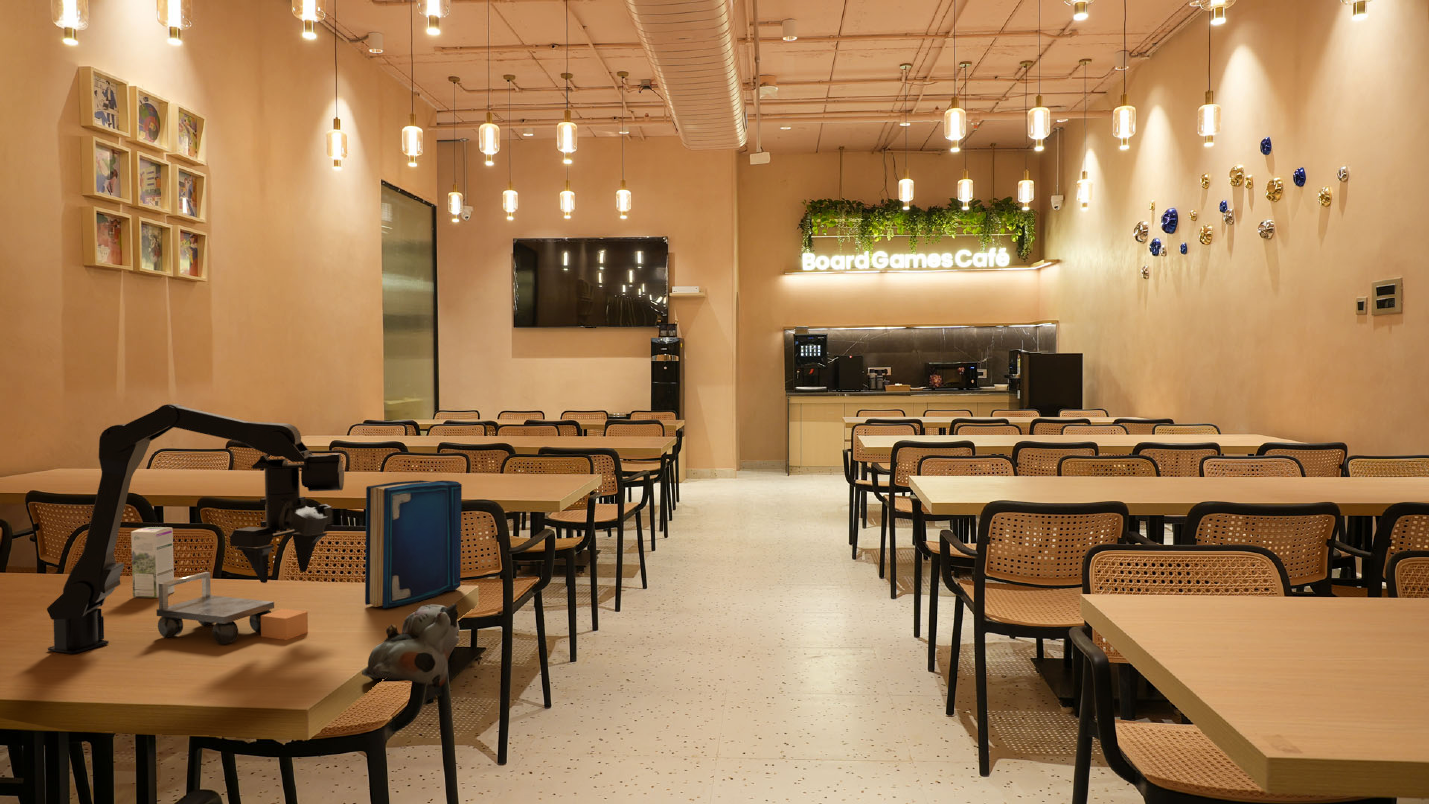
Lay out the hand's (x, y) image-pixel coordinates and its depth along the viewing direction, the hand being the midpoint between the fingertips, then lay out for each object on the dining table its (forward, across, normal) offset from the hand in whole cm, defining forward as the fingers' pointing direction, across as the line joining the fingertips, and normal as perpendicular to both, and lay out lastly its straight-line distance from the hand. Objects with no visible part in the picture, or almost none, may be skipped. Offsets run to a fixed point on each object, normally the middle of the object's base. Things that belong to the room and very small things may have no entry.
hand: (284, 577), depth 163 cm
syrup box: (+11, +14, +50) cm, 53 cm away
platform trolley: (+10, -4, +12) cm, 16 cm away
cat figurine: (+11, -13, -38) cm, 42 cm away
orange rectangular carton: (+11, 0, 0) cm, 11 cm away
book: (+11, +30, -6) cm, 32 cm away
